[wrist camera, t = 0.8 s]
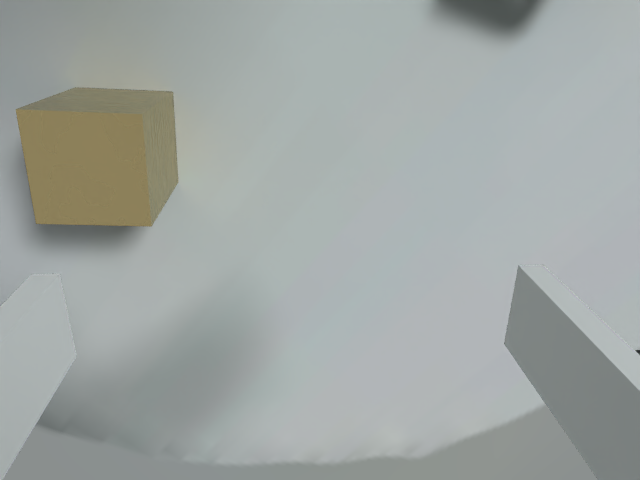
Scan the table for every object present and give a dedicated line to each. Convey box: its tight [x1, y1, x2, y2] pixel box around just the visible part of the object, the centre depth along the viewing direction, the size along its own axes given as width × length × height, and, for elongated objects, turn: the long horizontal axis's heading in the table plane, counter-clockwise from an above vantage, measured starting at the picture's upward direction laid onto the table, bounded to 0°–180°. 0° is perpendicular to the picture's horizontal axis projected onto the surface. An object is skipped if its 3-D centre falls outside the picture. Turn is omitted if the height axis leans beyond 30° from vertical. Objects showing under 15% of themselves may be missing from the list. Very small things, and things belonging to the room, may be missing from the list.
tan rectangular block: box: [16, 88, 178, 226], centre depth 30 cm, size 6×6×8 cm
